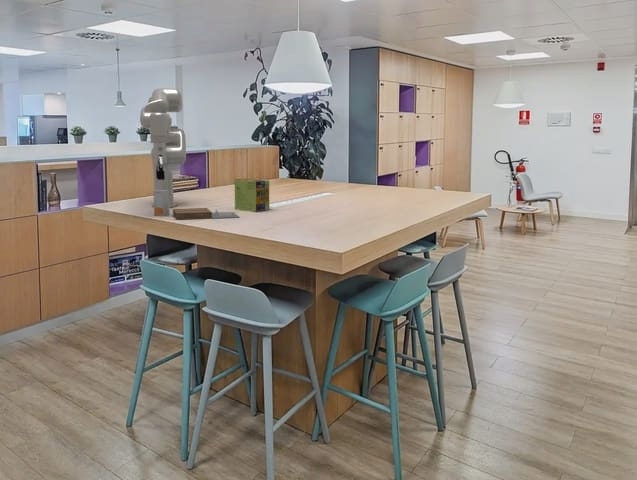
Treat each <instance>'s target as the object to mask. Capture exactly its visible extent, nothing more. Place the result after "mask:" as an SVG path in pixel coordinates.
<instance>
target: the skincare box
mask: <svg viewBox="0 0 637 480" xmlns="http://www.w3.org/2000/svg"><path fill="white" fill-rule="evenodd" d="M152 195H153V204H154V207H153V214H154V216H161V217H166V216H169V215H170V207H169V190H154V189H153V193H152Z"/></svg>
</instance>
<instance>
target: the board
mask: <svg viewBox="0 0 637 480" xmlns="http://www.w3.org/2000/svg"><path fill="white" fill-rule="evenodd" d="M212 213H213V212H212V211H211V210H210V209H208V208H207V207H196V208H193V207H192V208H189V207H188V208H172V216H173V217H174V218H175V220H176V221H181V220H182V221H184V220H186V221H187V220H208V219H212ZM212 220H213V219H212Z"/></svg>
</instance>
